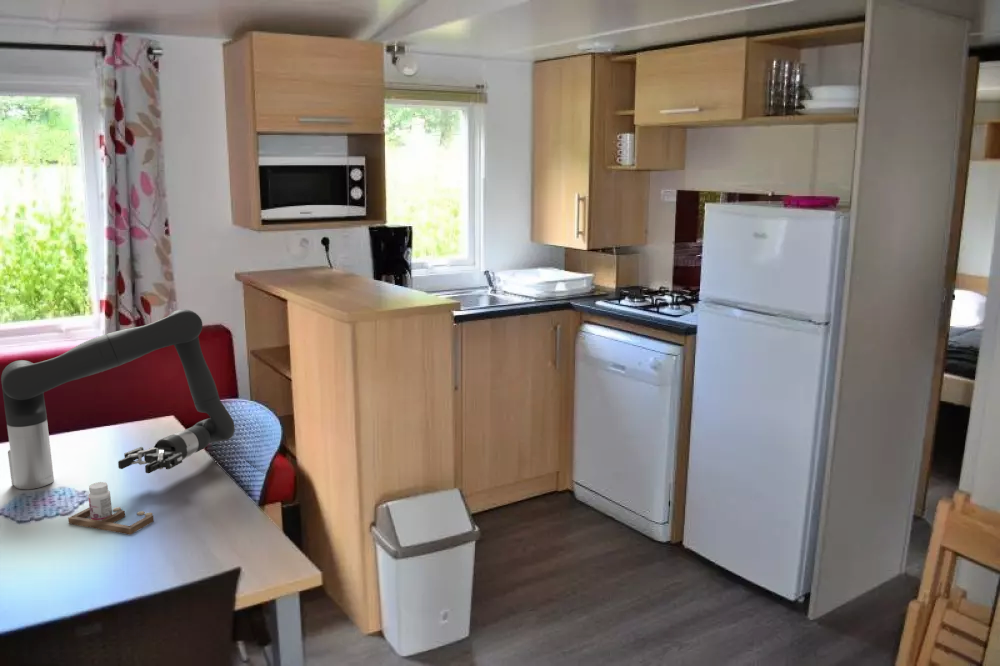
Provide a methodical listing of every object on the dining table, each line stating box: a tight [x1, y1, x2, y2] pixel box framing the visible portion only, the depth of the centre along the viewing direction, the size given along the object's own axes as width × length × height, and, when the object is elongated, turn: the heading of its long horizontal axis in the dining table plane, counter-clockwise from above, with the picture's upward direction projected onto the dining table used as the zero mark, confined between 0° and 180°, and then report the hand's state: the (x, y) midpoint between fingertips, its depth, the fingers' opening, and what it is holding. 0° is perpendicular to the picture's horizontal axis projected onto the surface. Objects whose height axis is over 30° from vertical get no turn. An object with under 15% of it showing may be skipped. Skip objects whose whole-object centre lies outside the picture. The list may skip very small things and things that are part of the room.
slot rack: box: [67, 506, 155, 536], centre depth 197 cm, size 18×11×2 cm, turn 71°
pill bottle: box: [88, 481, 113, 521], centre depth 197 cm, size 5×5×8 cm
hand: (132, 467), depth 207 cm, fingers open, 8 cm apart
